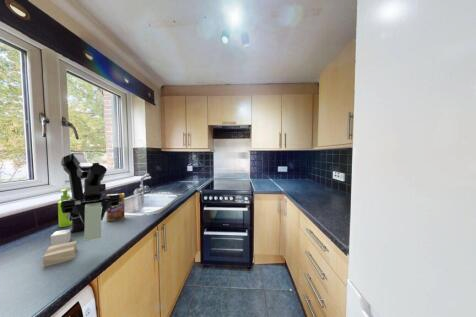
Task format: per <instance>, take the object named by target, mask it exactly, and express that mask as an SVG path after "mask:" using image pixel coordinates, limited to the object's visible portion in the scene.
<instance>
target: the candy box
mask: <svg viewBox="0 0 476 317" xmlns="http://www.w3.org/2000/svg"><path fill="white" fill-rule="evenodd" d="M113 194H114V193H109V194H106V198H109V195H113ZM118 194H119V195H120V202H119V205H116V206H111V208H108V209H107V211H106V222H113V221H118V220H123V219H125V216H126V215H125V192H121V193H118ZM106 198H105V199H106Z"/></svg>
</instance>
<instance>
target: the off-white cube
mask: <svg viewBox="0 0 476 317" xmlns="http://www.w3.org/2000/svg"><path fill="white" fill-rule="evenodd" d="M71 229H72V228H69V229H61V230H56V231H54V232H53V233H52V234H51V235H50V246H55V245H59V244H64V243H69V242H71V240H72V236H71V234H72V232H71Z"/></svg>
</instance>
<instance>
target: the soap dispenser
mask: <svg viewBox="0 0 476 317" xmlns="http://www.w3.org/2000/svg"><path fill="white" fill-rule="evenodd" d="M68 190H69V188H62V189H60V190H59V192H60V193H62V194H61V195H60V200H59V201H58V202H57V209H58V210H57V211H58V212H57V213H58V214H57V215H58V228H64V227H65V228H66V227H70V226H72V221H69V220H68V219H67V213H62V209H61V202H62V201H63V200H70V199H71V198H70V197H71V196H70V194H69V193H68Z"/></svg>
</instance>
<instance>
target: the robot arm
mask: <svg viewBox="0 0 476 317" xmlns="http://www.w3.org/2000/svg"><path fill="white" fill-rule="evenodd" d="M60 161H61V162H60V164H61V167H62V168H63V170H64V171H65V172H66V173H67V174H68V178H69V186H70V190H71V191H70V192H71V198H70V200H63V201H62V202H61V209H62V213H67V219H68V220H69V221H72V225H71V228H70V229H71V233H77V232H83V231H84V232H85V205H86V204H92V203H101V221H103V219H104V217H105V215H106V214H107V209H108V208H111V206H116V205H119V202H120V195H119V193H112V194H113V195H109V198H102V196H103V195H102V193H105V192H106V191H107V190H106V188H107V186H106V183H102V181H103V180H104V177H105V175H106V173H107V171H108V170H107V168H106V166H104V165H101V164H100V163H99V162H93V163H92V162H89V160H88V159H87V157H85V155H84V153H83V152H70V153H69V154H68V155H66V156H63V157H62V159H61V160H60ZM82 179H84V182H83V183H84V184H82ZM83 185H84V186H83Z"/></svg>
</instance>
